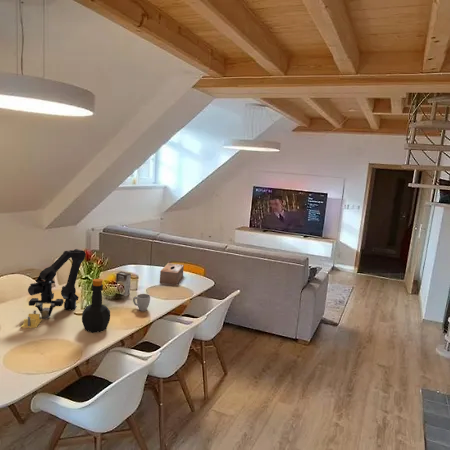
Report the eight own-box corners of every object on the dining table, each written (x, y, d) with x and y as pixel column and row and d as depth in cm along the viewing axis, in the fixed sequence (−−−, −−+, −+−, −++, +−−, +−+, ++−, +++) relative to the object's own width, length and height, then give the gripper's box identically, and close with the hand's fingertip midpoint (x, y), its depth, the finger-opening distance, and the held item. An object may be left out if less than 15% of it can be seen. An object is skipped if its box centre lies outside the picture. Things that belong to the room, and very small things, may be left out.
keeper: (42, 320, 230) (42, 310, 229) (36, 327, 219) (36, 318, 218) (27, 319, 228) (27, 310, 228) (21, 327, 218) (21, 317, 217)
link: (50, 315, 237) (51, 307, 236) (48, 318, 232) (48, 310, 232) (43, 315, 237) (43, 307, 236) (41, 318, 232) (41, 310, 231)
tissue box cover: (176, 284, 317) (177, 272, 315) (159, 282, 318) (160, 271, 316) (183, 275, 342) (183, 264, 340) (167, 273, 343) (167, 263, 342)
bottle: (87, 321, 233) (88, 274, 228) (114, 324, 233) (116, 277, 228) (76, 333, 217) (77, 282, 212) (105, 335, 217) (107, 285, 212)
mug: (151, 308, 262) (152, 295, 260) (145, 312, 254) (146, 299, 252) (135, 305, 265) (136, 292, 263) (129, 309, 256) (130, 296, 255)
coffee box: (114, 294, 282) (115, 273, 280) (119, 291, 288) (120, 271, 286) (125, 296, 280) (126, 275, 277) (130, 293, 286) (131, 273, 283)
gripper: (66, 287, 241) (65, 310, 244) (34, 286, 238) (34, 309, 241) (61, 293, 230) (60, 317, 233) (28, 292, 227) (28, 317, 230)
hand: (46, 315), depth 234 cm, fingers closed on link, 4 cm apart
